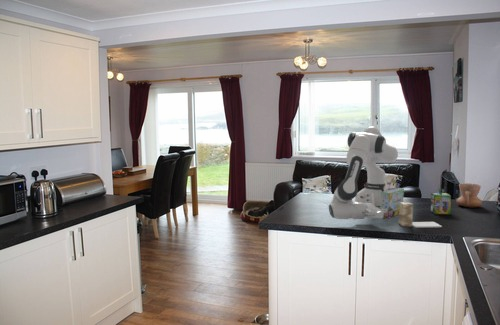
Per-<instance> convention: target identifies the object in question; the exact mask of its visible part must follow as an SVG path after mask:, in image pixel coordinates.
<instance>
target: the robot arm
mask: <svg viewBox="0 0 500 325" xmlns="http://www.w3.org/2000/svg"><path fill="white" fill-rule="evenodd" d="M386 140H387V139H386V138H385V136H384V135H382V133H381V131H380V130H379V128H377V127H375V126H368V127H367V128H365V129H364V131H363V132H359V131H352V132H350V133H349V135H348V136H347V142H346V143H347V145H348V151H347V154H346V157H345V161H346V164H347V166H348V168H347V171H346V175H345V178H344V179H343V180H342V181H341V182H340V183H339V184H338V186H337V187H336V189H335V190H334V193H333V197H332V200H331V202H330V203H329V205H328V211H329V215H330V216H331V218H333V219H336V220H350V219H352V220H364V219H366V217H368V218H370V219H384V218H383V216H384V213H387V209H385V208H380V205H381V192H383V191H386V188H387V187H386V186H387V185H386V172H385V169H383V168H382V167H379V166H378V165H377V163H385V164H387V163H394V162H396V160H397V159H398V156H399V152H398V149H397V148H396V147H395V146H393V145H389V144H388V143H387V142H386ZM364 166H365V169H366V172H367V173H366V176H367V182H365V183H364V184H363V186H364V188H362V189H361V190H359V189H358V180H359V177H360V175H361V174H360V173H361V170H362V168H364Z"/></svg>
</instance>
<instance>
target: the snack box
mask: <svg viewBox="0 0 500 325" xmlns="http://www.w3.org/2000/svg"><path fill="white" fill-rule="evenodd" d="M404 193H405V188H403V187H394V188H391V189H387V190H385V191H383V192H381V205H380V206H379V208H385V209H387V213H384V216H383V218H382V219H387V220H388V219H391V218H393V217H395V216H399V209H400V202H404V197H405V196H404V195H405V194H404Z"/></svg>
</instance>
